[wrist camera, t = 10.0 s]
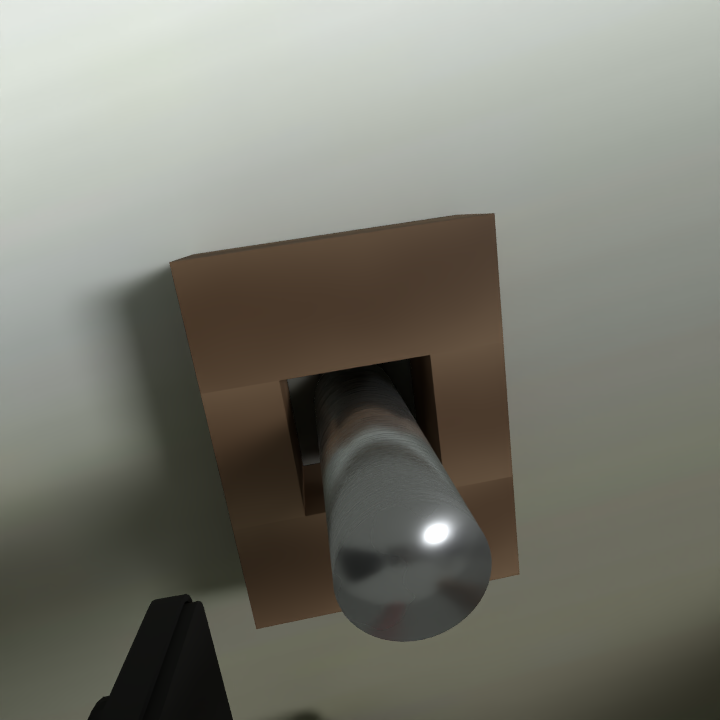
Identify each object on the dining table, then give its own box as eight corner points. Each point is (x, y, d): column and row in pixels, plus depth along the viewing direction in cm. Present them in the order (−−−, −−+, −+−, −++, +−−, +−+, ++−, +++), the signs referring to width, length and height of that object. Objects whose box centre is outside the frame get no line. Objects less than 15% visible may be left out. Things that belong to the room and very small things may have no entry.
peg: (399, 428, 20) (497, 623, 10) (320, 442, 20) (345, 655, 10) (389, 352, 19) (484, 487, 9) (307, 366, 19) (320, 518, 9)
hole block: (484, 518, 21) (519, 574, 18) (262, 562, 21) (256, 629, 17) (457, 214, 18) (494, 213, 15) (193, 254, 17) (169, 261, 14)
